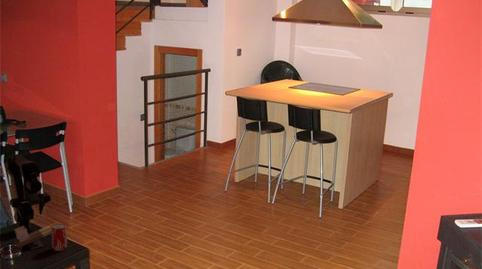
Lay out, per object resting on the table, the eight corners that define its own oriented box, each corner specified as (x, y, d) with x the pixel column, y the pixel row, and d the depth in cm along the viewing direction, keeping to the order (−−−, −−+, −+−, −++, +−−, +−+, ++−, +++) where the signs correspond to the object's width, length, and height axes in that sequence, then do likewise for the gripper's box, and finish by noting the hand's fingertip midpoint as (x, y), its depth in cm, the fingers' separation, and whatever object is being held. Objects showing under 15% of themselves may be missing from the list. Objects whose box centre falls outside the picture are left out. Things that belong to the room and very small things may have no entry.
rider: (17, 239, 256) (14, 229, 254) (26, 236, 258) (23, 225, 256) (20, 243, 252) (17, 232, 250) (29, 239, 255) (26, 228, 253)
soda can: (62, 252, 252) (61, 229, 250) (49, 251, 254) (48, 228, 251) (70, 246, 259) (69, 224, 257) (57, 245, 260) (56, 222, 258)
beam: (14, 243, 256) (13, 240, 255) (49, 228, 266) (49, 225, 265) (18, 247, 251) (17, 245, 251) (54, 232, 261) (53, 229, 261)
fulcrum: (26, 243, 261) (25, 237, 260) (38, 241, 264) (38, 234, 264) (31, 249, 255) (31, 242, 254) (43, 246, 258) (43, 240, 258)
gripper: (14, 194, 247) (16, 225, 251) (54, 187, 259) (55, 217, 262) (8, 188, 256) (10, 218, 259) (46, 182, 267) (47, 210, 271)
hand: (31, 216), depth 262 cm, fingers open, 9 cm apart
